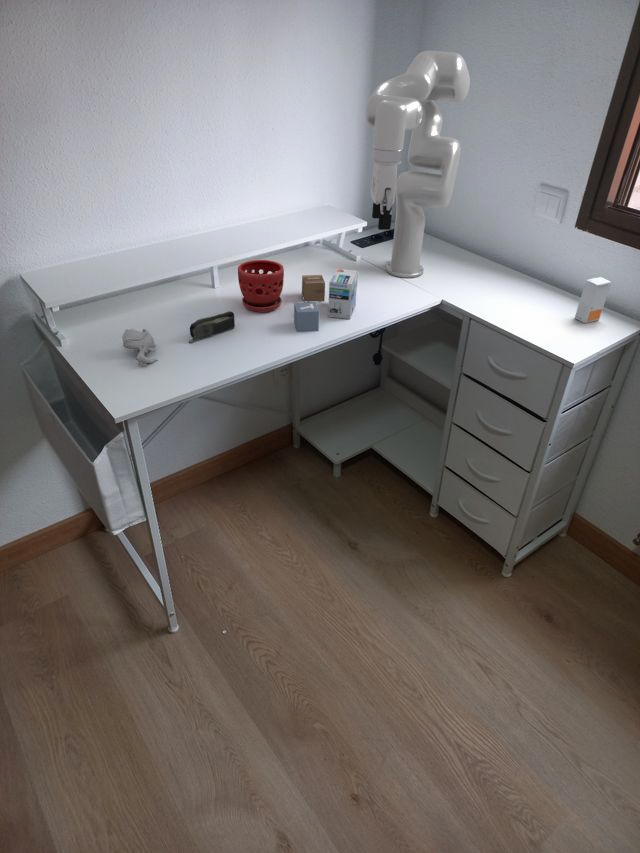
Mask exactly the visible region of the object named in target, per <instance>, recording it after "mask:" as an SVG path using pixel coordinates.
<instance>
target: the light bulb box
mask: <svg viewBox="0 0 640 853" xmlns="http://www.w3.org/2000/svg"><path fill="white" fill-rule="evenodd" d="M358 273H359V272H358V270H350V269H345V268H344V269H343V268H335V270H334V272H333V274H332V276H331V278H330V279H329V284H328V286H329V287H328V309H327V310H328V311H327V313H328V314H327V317H331V318H337V319H344V320H345V319H346V320H351V317H352V316H353V313H354V311H355V308H356V305H357V304H356V303H357V289H358V288H357V287H358Z"/></svg>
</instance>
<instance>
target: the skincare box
mask: <svg viewBox="0 0 640 853" xmlns="http://www.w3.org/2000/svg"><path fill="white" fill-rule="evenodd" d="M612 283H613V282H612V281H610V280H608V279H606V278H604V277H602V276H599V277H593V278H589V279H586V280H585V283H584V286H583V289H582V293H581V295H580V296H581V297H580V298H579V302H578V306H577V308H576V312H575V315H574V319H576V320H578V321H580V322H582V323H583V324H587V323H593V322H595V321H600V318H601V315H602V312H603V310H604V306H605V303H606V300H607V299H608V298H607V297H608V295H609V292H610V288H611V286H612Z"/></svg>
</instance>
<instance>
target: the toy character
mask: <svg viewBox="0 0 640 853" xmlns="http://www.w3.org/2000/svg"><path fill="white" fill-rule="evenodd" d="M121 339H122V342H123V344H122V346H123V348H125V349H129V350H137V351H139V352H138V354H137V355H136V358H135V359H136V361H137V360H138V362H137V366H138V367H141V366H142V367H147V365H148V364H153V363H155V362H159V359H156V358H153V359H150V358H147V357H146V356H145V355H146V353H147V354H148V353H149V352H155V349H154V348H156V347H157V344H156V343H155V340H154V337H153V335H152V334H151V333H150V332H149V330H148V329H146V328H143V329H142V330H141V331H138V330H137V329H133V328H130V329H127V328H126V329H125V331H124V332H123V334H122V338H121Z"/></svg>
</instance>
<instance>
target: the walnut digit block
mask: <svg viewBox="0 0 640 853" xmlns="http://www.w3.org/2000/svg"><path fill="white" fill-rule="evenodd" d="M302 294H303V296H302V298H303V297H304V299H303V301H304V302H305V301H318V302H325V296H326V282H325V279H324V277H323V275H322V274H309V275H308V274H307V275H306V274H305V275H304V274H303V275H301V295H302Z"/></svg>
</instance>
